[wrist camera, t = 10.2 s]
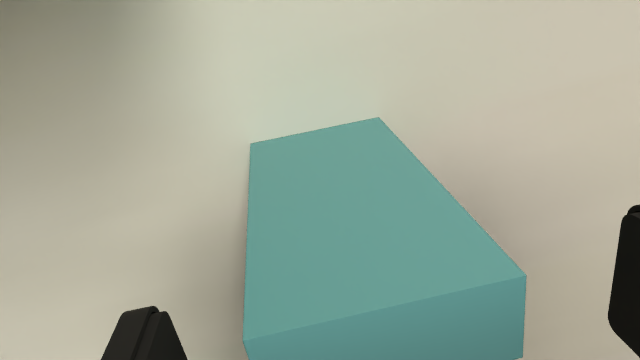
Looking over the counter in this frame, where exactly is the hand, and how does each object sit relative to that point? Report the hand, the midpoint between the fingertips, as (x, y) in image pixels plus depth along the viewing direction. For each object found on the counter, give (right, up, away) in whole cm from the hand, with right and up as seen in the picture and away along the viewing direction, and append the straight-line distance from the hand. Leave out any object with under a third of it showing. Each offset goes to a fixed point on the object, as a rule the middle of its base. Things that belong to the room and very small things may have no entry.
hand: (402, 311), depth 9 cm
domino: (-2, +4, +8) cm, 9 cm away
